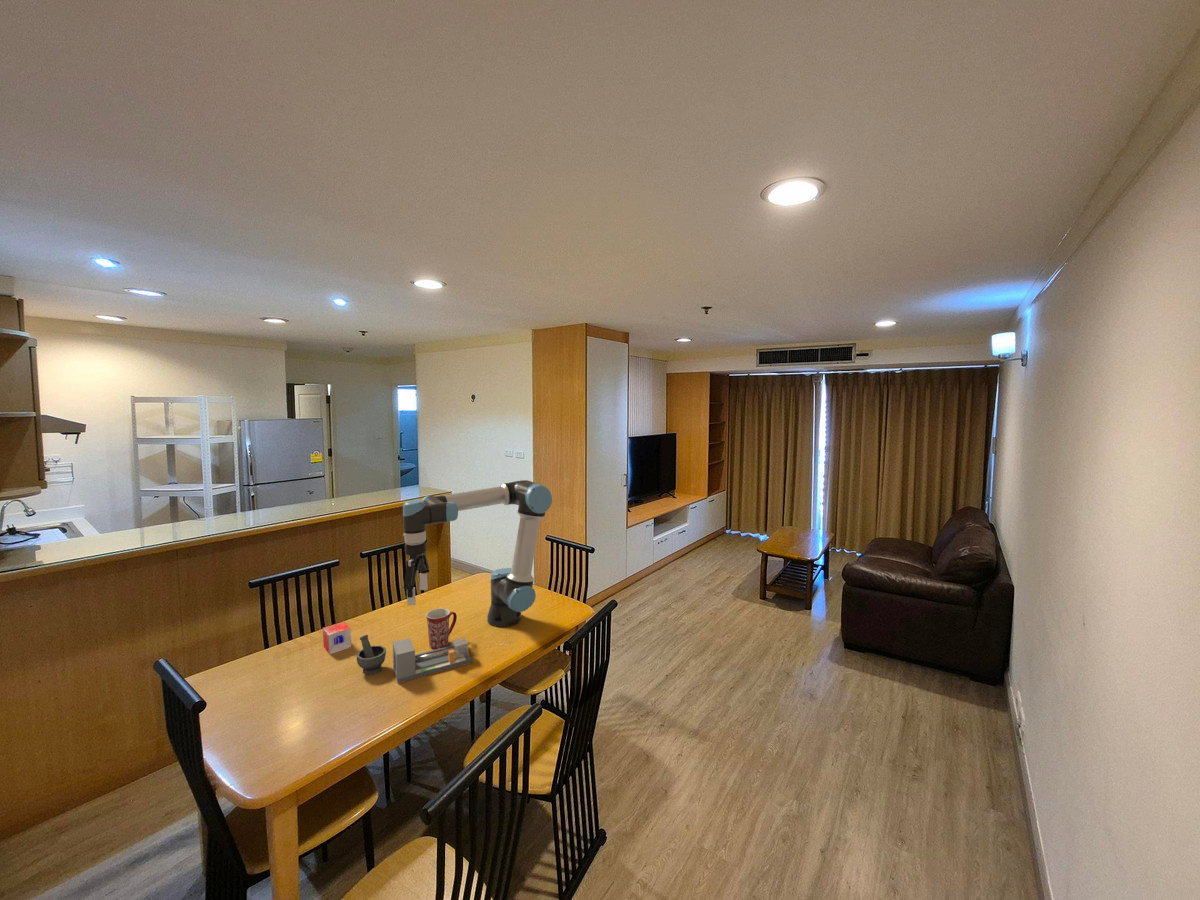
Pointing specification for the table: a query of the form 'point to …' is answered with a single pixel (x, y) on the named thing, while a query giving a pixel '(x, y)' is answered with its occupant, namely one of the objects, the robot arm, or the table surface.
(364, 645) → the mortar and pestle
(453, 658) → the tangerine cube
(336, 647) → the toy block
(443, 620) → the mug
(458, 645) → the grey block with bar
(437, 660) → the bench
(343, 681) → the table surface
